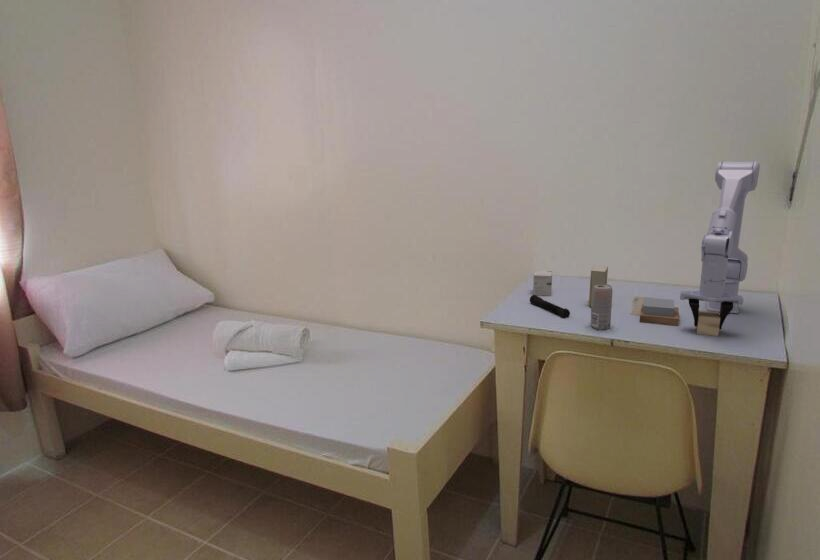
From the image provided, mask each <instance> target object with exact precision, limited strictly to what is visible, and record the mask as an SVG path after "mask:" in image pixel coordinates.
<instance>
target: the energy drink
mask: <svg viewBox="0 0 820 560" xmlns="http://www.w3.org/2000/svg"><path fill="white" fill-rule="evenodd" d="M612 304H613V286H612V285H610V284H608V283H607V284H596V285H594V286H593V289H592V306H591V308H590V309H591V310H590V312H591V313H590V327H591V328H593V329H595V328H596V329H595V330H602V329H603V330H607V329H609V328H611V324H612V322H611V320H612V309H613V308H612Z"/></svg>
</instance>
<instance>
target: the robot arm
mask: <svg viewBox="0 0 820 560" xmlns="http://www.w3.org/2000/svg"><path fill="white" fill-rule="evenodd" d="M759 174H760V162H759V161H758V160H755V161H723V160H721V161H719V162H718V163H717V165H716V169H715V175H714V181H715V183H716V185H717V187H718V190H721V192H720V197H719V198H720V200H719V205H718V209H716V210H714V211H713V212H712V215H711V219H710V222H709V225H708V229H707V234H705V235H703V238H702V241H701V245H700V246H701V249H700V250H701V262H702V263H701V264H702V265H701V273H700V283H699V290H694V291H693V290H691V291H690V290H689V291H684V290H681V291H680V296H679V297H680V299H679V301H680V300H681V301H685V300H688V304H689V308H690V310H691V313H692V316H693V320H694V321H693V322H694V323H693V324H694V327H695V328H696V327H697V325H698V312H699V310H700V302H705V303H706V309H707V310H706V311H711V312H719V315H720V325H719V330H722V327H723V325H724V323H725V321H726V318H727V316H729V314H739V313H740V312H739V309H738V305H739V306H743V305H744V296H743V295H739V288H740V282H743V281H744V280H745V279H746V277H747V273H748V263H749V262H748V261H749V257H748V255H747V254H746V252H744V251H743V250H742V249H740V248H739V245H740V237H741V232H742V231H741V229H742V224H743V218H744V217H743V216H744V211H745V210H744V207H745V201H746V198H747V195H748V194H749V192H753V191H756V188H757V187H758V182H759V181H758V180H759Z"/></svg>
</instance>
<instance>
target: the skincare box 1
mask: <svg viewBox="0 0 820 560" xmlns="http://www.w3.org/2000/svg"><path fill="white" fill-rule="evenodd" d="M552 285H553V271H551V270H549V271H548V270H535V271H534V273H533V285H532V286H533V287H532V288H533V290H532V293H533V294H532V295H536V296H548V297H551V296H552V290H553V289H552Z"/></svg>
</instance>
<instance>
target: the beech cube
mask: <svg viewBox="0 0 820 560" xmlns="http://www.w3.org/2000/svg"><path fill="white" fill-rule="evenodd" d="M719 325H720V312H716V311H708V310H700V309H699V312H698V325H697V327H695V329H696V335H708V336H716V337H719V333H720V329H719Z"/></svg>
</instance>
